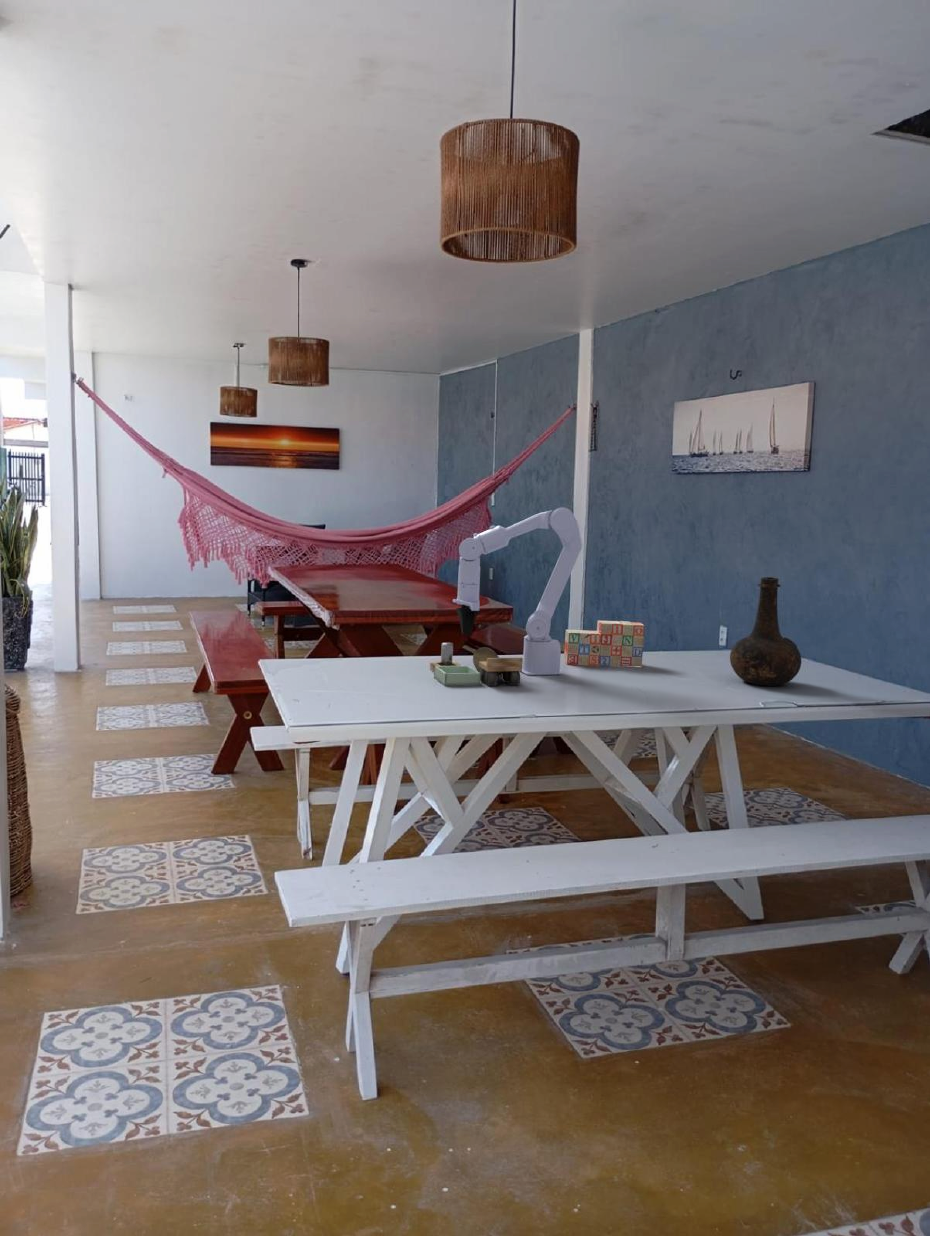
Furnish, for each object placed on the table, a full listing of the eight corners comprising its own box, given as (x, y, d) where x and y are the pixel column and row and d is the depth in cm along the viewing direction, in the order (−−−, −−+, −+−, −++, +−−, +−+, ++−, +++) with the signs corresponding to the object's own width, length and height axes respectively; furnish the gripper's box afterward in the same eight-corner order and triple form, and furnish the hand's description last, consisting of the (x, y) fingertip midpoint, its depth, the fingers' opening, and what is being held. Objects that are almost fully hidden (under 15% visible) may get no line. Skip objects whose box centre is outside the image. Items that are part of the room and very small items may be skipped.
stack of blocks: (566, 665, 272) (568, 621, 271) (563, 661, 278) (565, 618, 277) (642, 668, 273) (645, 624, 271) (637, 664, 279) (640, 621, 278)
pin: (450, 670, 256) (451, 642, 255) (453, 672, 253) (454, 644, 252) (439, 670, 255) (440, 642, 254) (442, 673, 252) (443, 644, 251)
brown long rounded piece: (467, 670, 258) (468, 645, 257) (493, 670, 260) (494, 645, 259) (480, 681, 244) (481, 655, 243) (507, 681, 245) (508, 655, 244)
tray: (468, 677, 247) (468, 665, 247) (480, 685, 238) (480, 673, 238) (434, 678, 245) (434, 666, 244) (444, 686, 235) (445, 673, 235)
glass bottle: (812, 690, 250) (821, 581, 247) (748, 690, 247) (757, 580, 243) (776, 676, 268) (785, 575, 264) (716, 676, 264) (724, 573, 260)
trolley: (511, 680, 246) (512, 653, 245) (521, 686, 239) (523, 658, 238) (477, 680, 243) (478, 653, 242) (487, 687, 236) (488, 658, 235)
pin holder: (455, 669, 258) (455, 661, 258) (462, 674, 252) (463, 666, 251) (429, 669, 256) (430, 661, 256) (436, 674, 250) (437, 666, 249)
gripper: (447, 580, 263) (444, 630, 265) (461, 586, 249) (459, 638, 251) (472, 580, 265) (469, 630, 267) (488, 586, 251) (485, 638, 253)
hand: (466, 634), depth 259 cm, fingers closed
